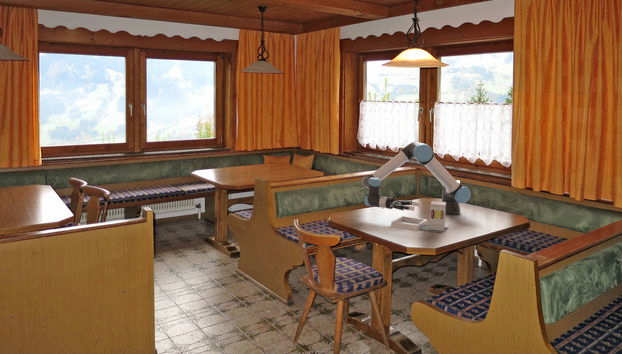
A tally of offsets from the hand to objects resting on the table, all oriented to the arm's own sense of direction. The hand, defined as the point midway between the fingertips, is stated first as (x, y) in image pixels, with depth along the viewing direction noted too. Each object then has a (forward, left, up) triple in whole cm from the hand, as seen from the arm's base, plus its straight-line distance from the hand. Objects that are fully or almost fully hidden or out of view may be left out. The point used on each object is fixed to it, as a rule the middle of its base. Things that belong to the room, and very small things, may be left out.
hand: (417, 206), depth 343 cm
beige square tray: (-1, -5, -13) cm, 14 cm away
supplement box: (0, +13, -13) cm, 18 cm away
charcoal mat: (0, +12, -13) cm, 17 cm away
